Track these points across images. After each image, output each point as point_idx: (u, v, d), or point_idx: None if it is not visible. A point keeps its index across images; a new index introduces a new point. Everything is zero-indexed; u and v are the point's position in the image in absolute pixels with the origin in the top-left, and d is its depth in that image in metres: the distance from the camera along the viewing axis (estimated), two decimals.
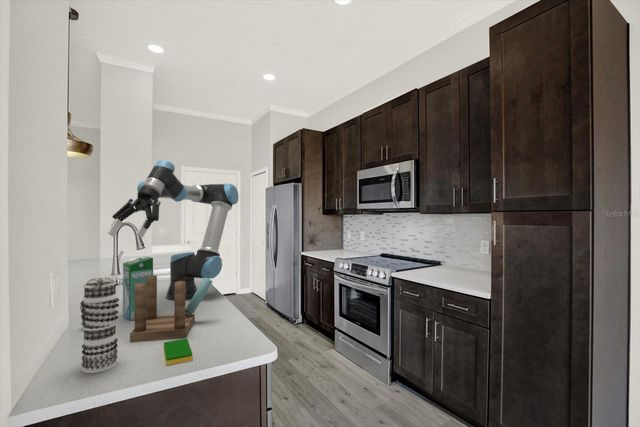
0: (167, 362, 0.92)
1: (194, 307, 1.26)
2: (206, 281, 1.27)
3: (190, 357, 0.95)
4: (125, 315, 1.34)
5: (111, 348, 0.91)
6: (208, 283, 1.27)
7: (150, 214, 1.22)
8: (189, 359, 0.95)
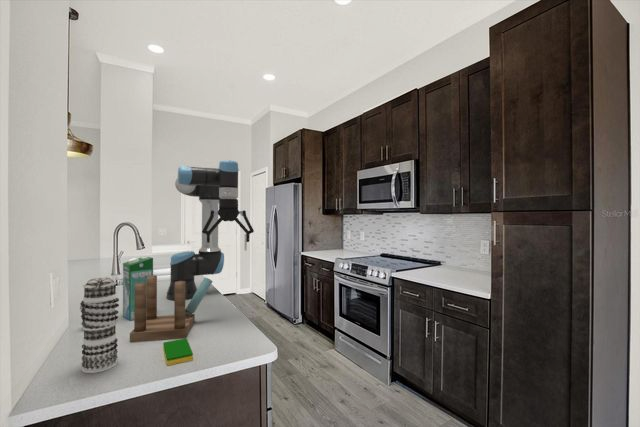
0: (168, 362, 0.92)
1: (194, 307, 1.26)
2: (206, 281, 1.27)
3: (191, 357, 0.95)
4: (125, 315, 1.34)
5: (111, 348, 0.91)
6: (208, 283, 1.27)
7: None
8: (190, 359, 0.95)
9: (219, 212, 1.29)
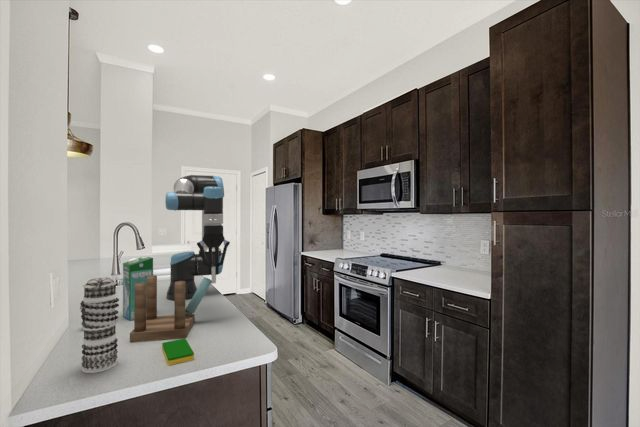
0: (169, 362, 0.92)
1: (194, 307, 1.26)
2: (206, 281, 1.27)
3: (192, 356, 0.96)
4: (125, 315, 1.34)
5: (111, 348, 0.91)
6: (208, 283, 1.27)
7: (218, 259, 1.30)
8: (191, 358, 0.95)
9: (204, 239, 1.28)
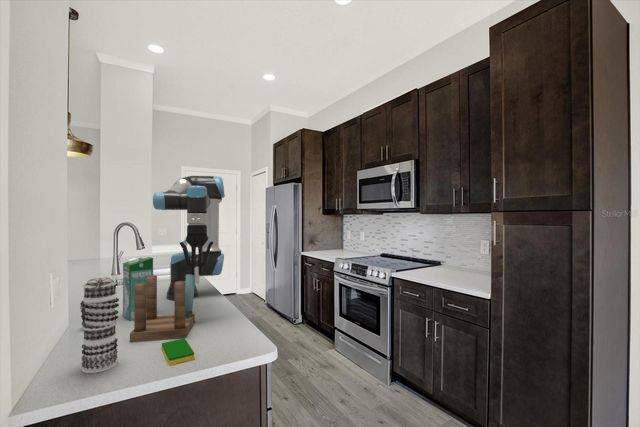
0: (170, 362, 0.92)
1: (189, 305, 1.26)
2: (189, 277, 1.26)
3: (192, 356, 0.96)
4: (125, 315, 1.34)
5: (111, 348, 0.91)
6: (191, 278, 1.26)
7: (201, 259, 1.28)
8: (191, 358, 0.96)
9: (187, 239, 1.26)
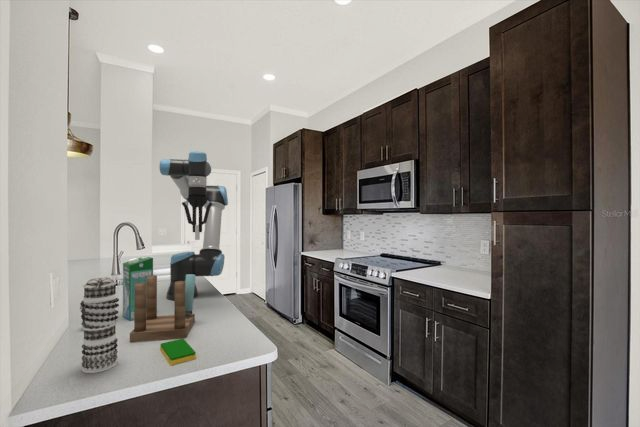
0: (171, 362, 0.92)
1: (189, 305, 1.26)
2: (189, 277, 1.26)
3: (194, 356, 0.96)
4: (125, 315, 1.34)
5: (111, 348, 0.91)
6: (191, 278, 1.26)
7: (201, 218, 1.42)
8: (193, 358, 0.96)
9: (188, 199, 1.40)
